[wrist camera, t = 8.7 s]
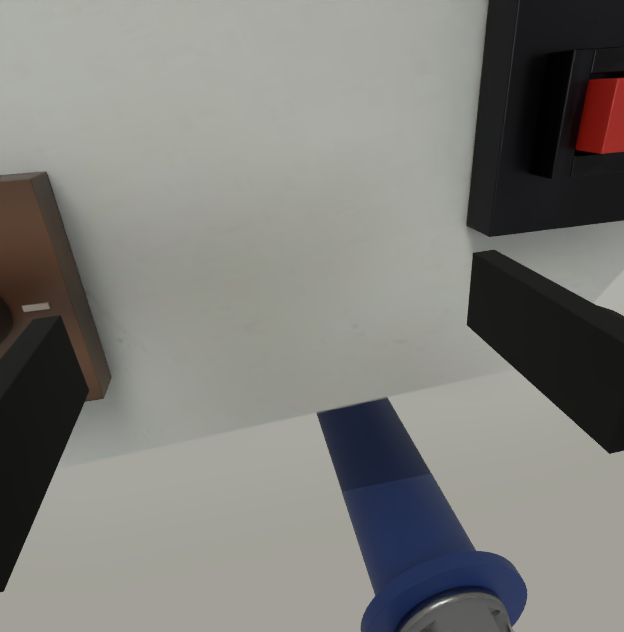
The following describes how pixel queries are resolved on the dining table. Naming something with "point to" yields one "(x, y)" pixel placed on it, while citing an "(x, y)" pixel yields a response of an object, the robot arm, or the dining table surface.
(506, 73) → the switch base
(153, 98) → the dining table surface
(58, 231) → the dial panel
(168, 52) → the dining table surface
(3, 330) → the dial knob
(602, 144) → the button
